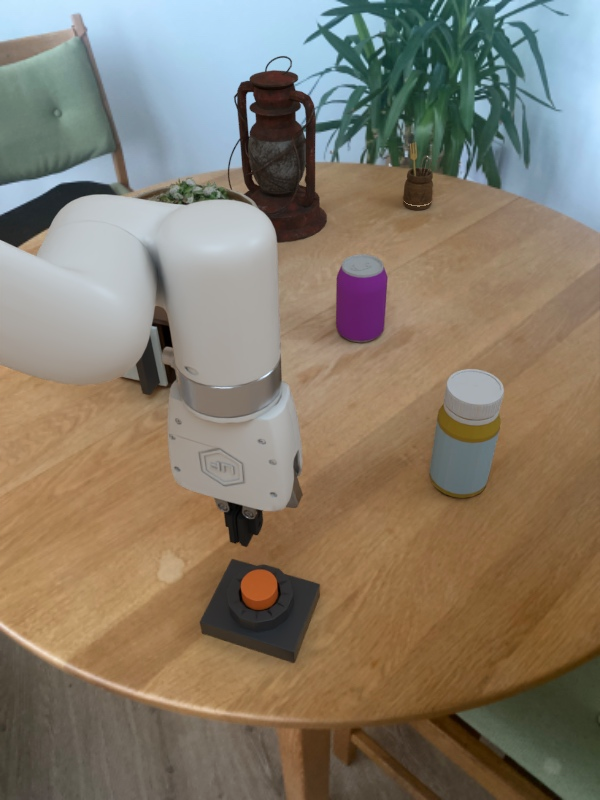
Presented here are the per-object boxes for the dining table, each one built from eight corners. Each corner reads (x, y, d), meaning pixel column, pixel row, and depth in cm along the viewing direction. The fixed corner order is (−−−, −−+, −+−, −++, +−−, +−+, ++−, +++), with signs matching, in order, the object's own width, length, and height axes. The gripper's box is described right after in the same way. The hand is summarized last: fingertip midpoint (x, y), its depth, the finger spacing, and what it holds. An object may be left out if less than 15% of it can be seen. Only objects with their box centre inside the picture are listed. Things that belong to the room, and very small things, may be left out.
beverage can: (372, 313, 111) (376, 248, 104) (391, 339, 106) (397, 272, 98) (329, 322, 110) (329, 256, 102) (345, 349, 104) (347, 281, 96)
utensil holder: (414, 213, 139) (419, 155, 131) (396, 202, 143) (400, 145, 135) (437, 206, 141) (443, 149, 133) (419, 196, 145) (424, 139, 137)
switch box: (201, 633, 68) (197, 612, 66) (233, 570, 74) (230, 548, 71) (294, 663, 66) (293, 642, 63) (320, 595, 71) (319, 573, 69)
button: (236, 604, 67) (234, 594, 66) (250, 575, 69) (249, 565, 68) (270, 614, 66) (269, 604, 65) (283, 584, 68) (282, 574, 67)
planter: (188, 237, 133) (177, 163, 123) (292, 272, 122) (289, 193, 112) (90, 296, 117) (69, 217, 108) (200, 342, 106) (187, 258, 97)
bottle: (441, 452, 87) (456, 359, 77) (494, 471, 84) (516, 378, 74) (419, 487, 82) (432, 394, 73) (474, 509, 80) (495, 415, 70)
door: (156, 399, 95) (143, 341, 88) (106, 388, 97) (91, 331, 90) (168, 384, 97) (157, 326, 91) (119, 373, 99) (105, 316, 93)
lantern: (215, 227, 136) (196, 67, 117) (269, 193, 148) (260, 42, 128) (293, 251, 128) (287, 83, 108) (344, 212, 140) (347, 55, 120)
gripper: (113, 384, 48) (151, 542, 60) (310, 431, 44) (310, 590, 56) (163, 327, 54) (189, 483, 66) (343, 364, 50) (336, 523, 62)
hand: (245, 532), depth 61 cm, fingers closed
